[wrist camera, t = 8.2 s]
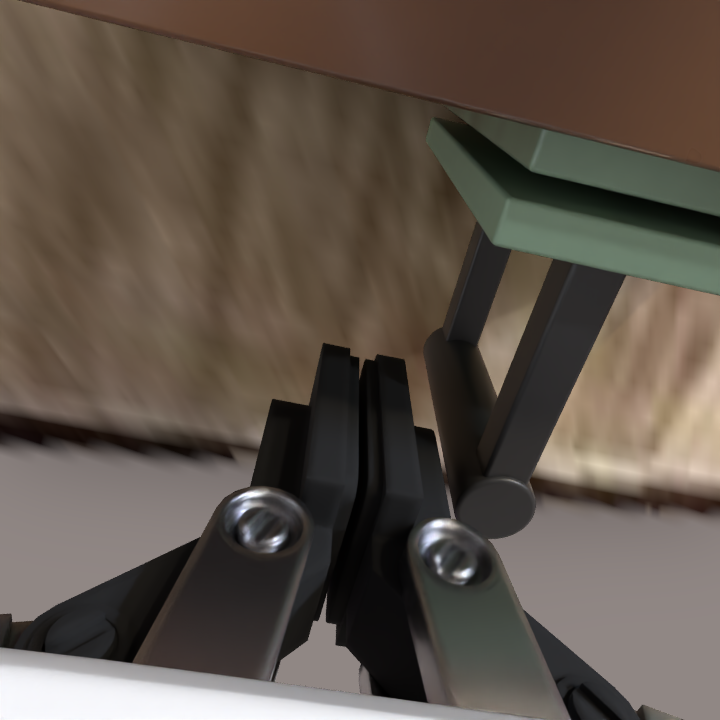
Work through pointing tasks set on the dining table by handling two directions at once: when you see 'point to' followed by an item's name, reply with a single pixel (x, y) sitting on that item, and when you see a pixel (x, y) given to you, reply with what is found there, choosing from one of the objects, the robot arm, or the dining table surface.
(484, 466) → the sliding door
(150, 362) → the dining table surface
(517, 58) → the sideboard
